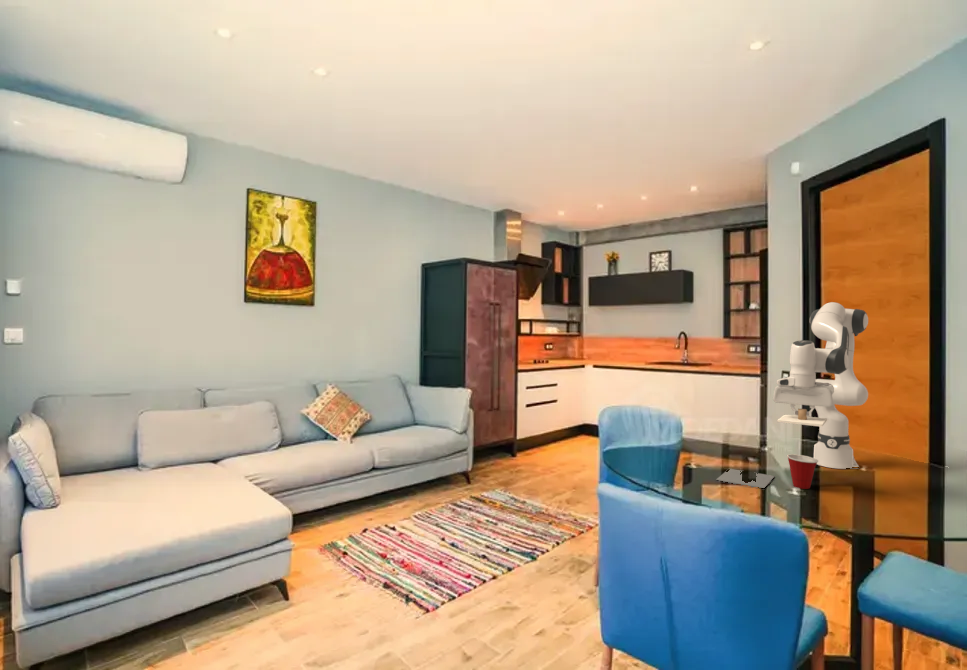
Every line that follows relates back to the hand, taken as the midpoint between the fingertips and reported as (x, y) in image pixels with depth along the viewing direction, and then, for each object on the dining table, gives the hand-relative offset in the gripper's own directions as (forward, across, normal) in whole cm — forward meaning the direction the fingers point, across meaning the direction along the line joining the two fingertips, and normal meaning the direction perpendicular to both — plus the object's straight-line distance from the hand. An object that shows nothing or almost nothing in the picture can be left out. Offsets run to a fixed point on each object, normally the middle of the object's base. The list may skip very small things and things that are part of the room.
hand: (802, 415), depth 206 cm
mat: (+28, +20, +3) cm, 35 cm away
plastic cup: (+29, 0, 0) cm, 29 cm away
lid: (+2, 0, 0) cm, 2 cm away
